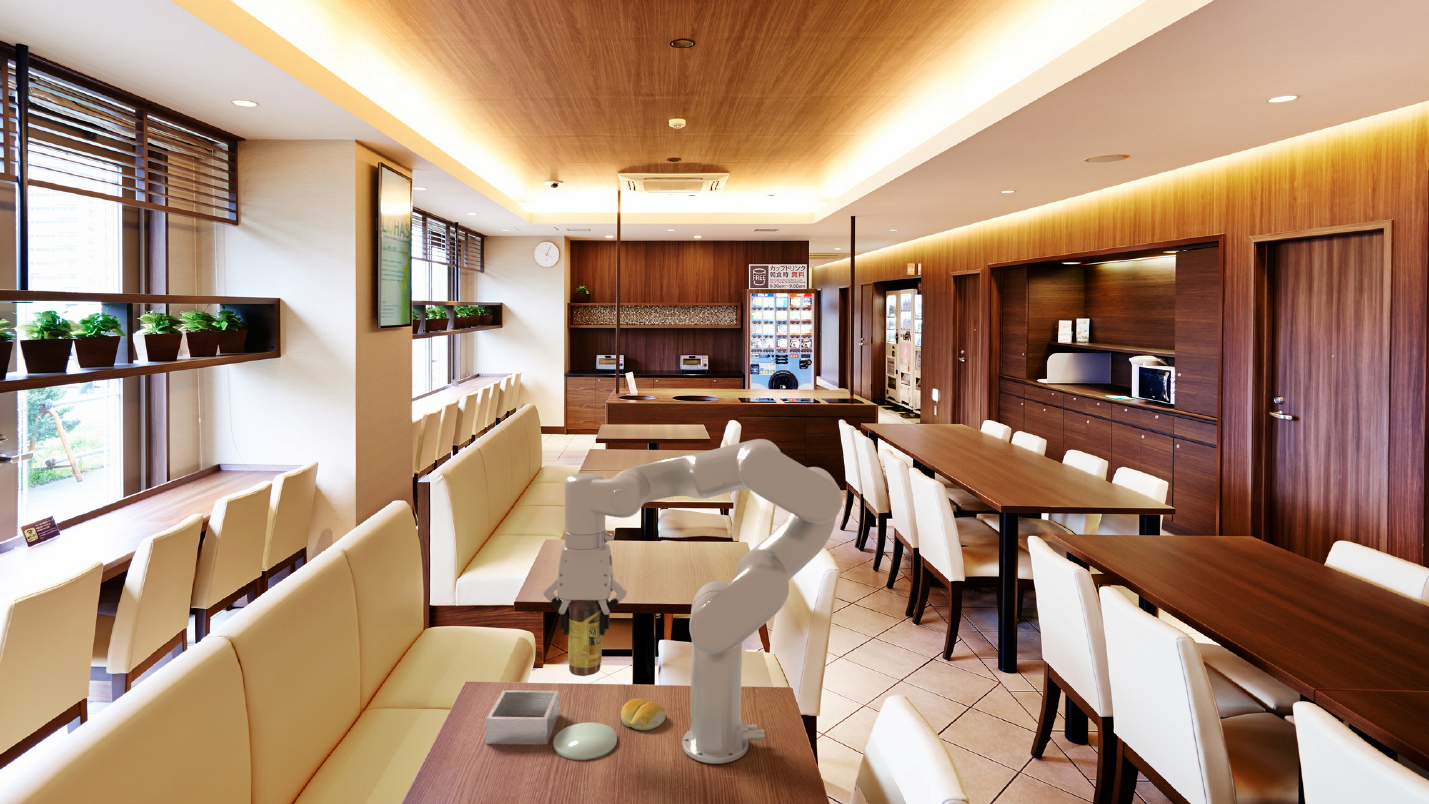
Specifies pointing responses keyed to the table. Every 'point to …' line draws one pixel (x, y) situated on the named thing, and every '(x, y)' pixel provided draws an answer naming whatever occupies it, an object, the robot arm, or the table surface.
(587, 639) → the sauce bottle
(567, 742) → the saucer
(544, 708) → the square storage bin
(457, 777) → the table surface
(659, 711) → the bread roll
